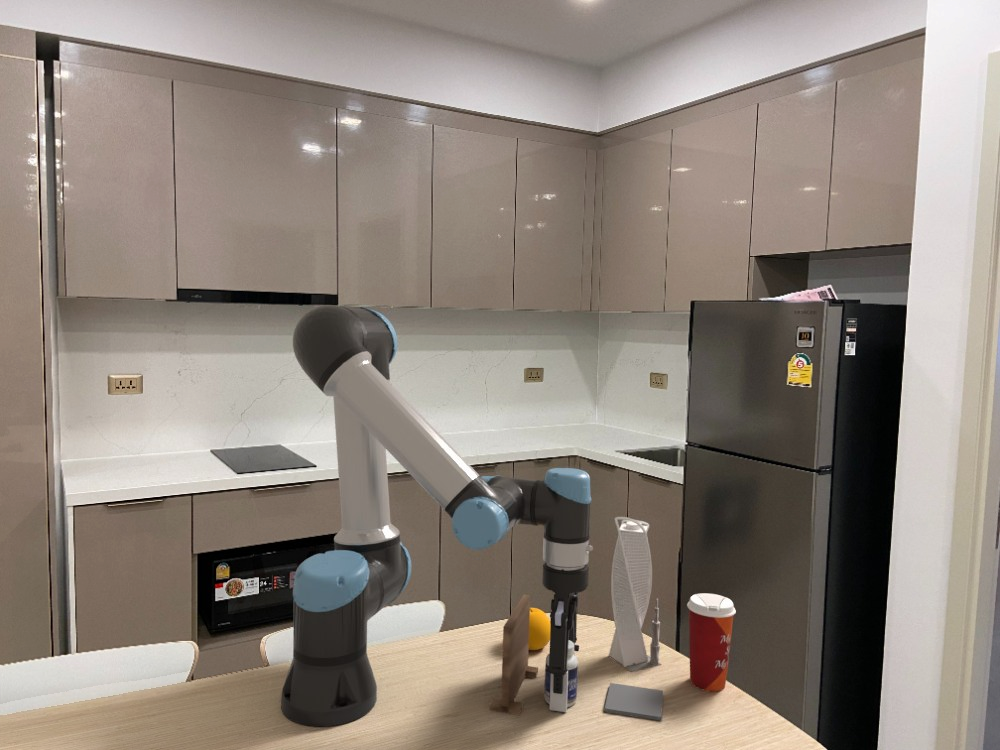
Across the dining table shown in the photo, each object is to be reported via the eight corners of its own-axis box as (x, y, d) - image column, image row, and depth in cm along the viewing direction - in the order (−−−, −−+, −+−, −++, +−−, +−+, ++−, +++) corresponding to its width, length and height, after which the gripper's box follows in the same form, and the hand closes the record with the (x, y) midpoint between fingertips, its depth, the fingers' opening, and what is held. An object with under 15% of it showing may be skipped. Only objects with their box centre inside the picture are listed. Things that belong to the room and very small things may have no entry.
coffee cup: (734, 697, 125) (738, 611, 124) (684, 691, 126) (688, 606, 125) (729, 675, 133) (733, 594, 132) (682, 669, 134) (686, 589, 134)
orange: (547, 658, 138) (548, 619, 137) (506, 652, 140) (507, 614, 139) (554, 640, 145) (555, 603, 145) (515, 635, 147) (516, 599, 147)
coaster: (604, 711, 119) (604, 708, 119) (610, 686, 127) (610, 682, 127) (661, 720, 116) (661, 717, 116) (663, 693, 125) (663, 690, 125)
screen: (489, 709, 118) (491, 625, 117) (511, 668, 133) (513, 593, 132) (519, 714, 117) (522, 629, 116) (538, 672, 131) (540, 596, 131)
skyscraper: (624, 675, 132) (631, 522, 131) (598, 656, 139) (604, 512, 138) (661, 666, 136) (667, 518, 135) (634, 649, 143) (640, 508, 142)
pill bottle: (550, 710, 119) (552, 652, 118) (539, 694, 124) (541, 638, 123) (581, 706, 120) (583, 649, 119) (569, 691, 125) (571, 635, 125)
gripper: (580, 585, 110) (575, 733, 112) (595, 548, 129) (591, 676, 130) (531, 579, 112) (527, 725, 113) (553, 544, 131) (550, 670, 132)
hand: (561, 699), depth 122 cm, fingers open, 6 cm apart
